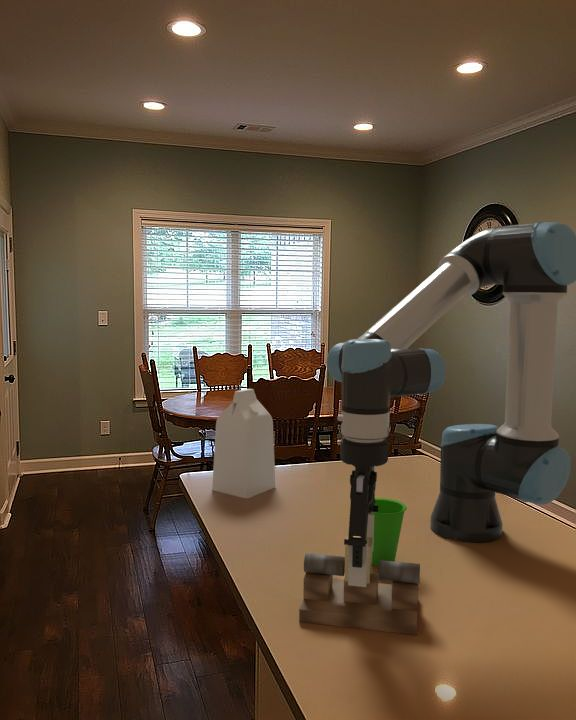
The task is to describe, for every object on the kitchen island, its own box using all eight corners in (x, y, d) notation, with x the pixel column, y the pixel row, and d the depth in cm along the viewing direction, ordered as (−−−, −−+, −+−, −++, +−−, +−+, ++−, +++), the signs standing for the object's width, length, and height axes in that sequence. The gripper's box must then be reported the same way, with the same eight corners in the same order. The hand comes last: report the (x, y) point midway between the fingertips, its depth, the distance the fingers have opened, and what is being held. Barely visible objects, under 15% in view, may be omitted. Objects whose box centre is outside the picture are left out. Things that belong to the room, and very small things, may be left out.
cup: (393, 575, 117) (395, 516, 116) (349, 563, 122) (350, 507, 121) (412, 558, 125) (413, 503, 124) (369, 548, 130) (370, 495, 129)
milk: (241, 479, 176) (242, 385, 174) (275, 487, 170) (276, 389, 167) (212, 490, 167) (211, 390, 164) (246, 498, 160) (246, 395, 157)
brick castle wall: (418, 598, 108) (420, 550, 108) (417, 635, 97) (419, 581, 96) (311, 587, 112) (311, 540, 111) (297, 621, 100) (298, 569, 100)
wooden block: (371, 573, 105) (372, 537, 105) (369, 583, 102) (370, 547, 101) (347, 570, 106) (348, 535, 106) (344, 581, 102) (345, 544, 102)
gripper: (349, 420, 114) (347, 536, 117) (329, 455, 90) (327, 599, 92) (392, 423, 113) (389, 539, 115) (383, 458, 89) (379, 605, 91)
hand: (361, 566), depth 104 cm, fingers open, 13 cm apart
